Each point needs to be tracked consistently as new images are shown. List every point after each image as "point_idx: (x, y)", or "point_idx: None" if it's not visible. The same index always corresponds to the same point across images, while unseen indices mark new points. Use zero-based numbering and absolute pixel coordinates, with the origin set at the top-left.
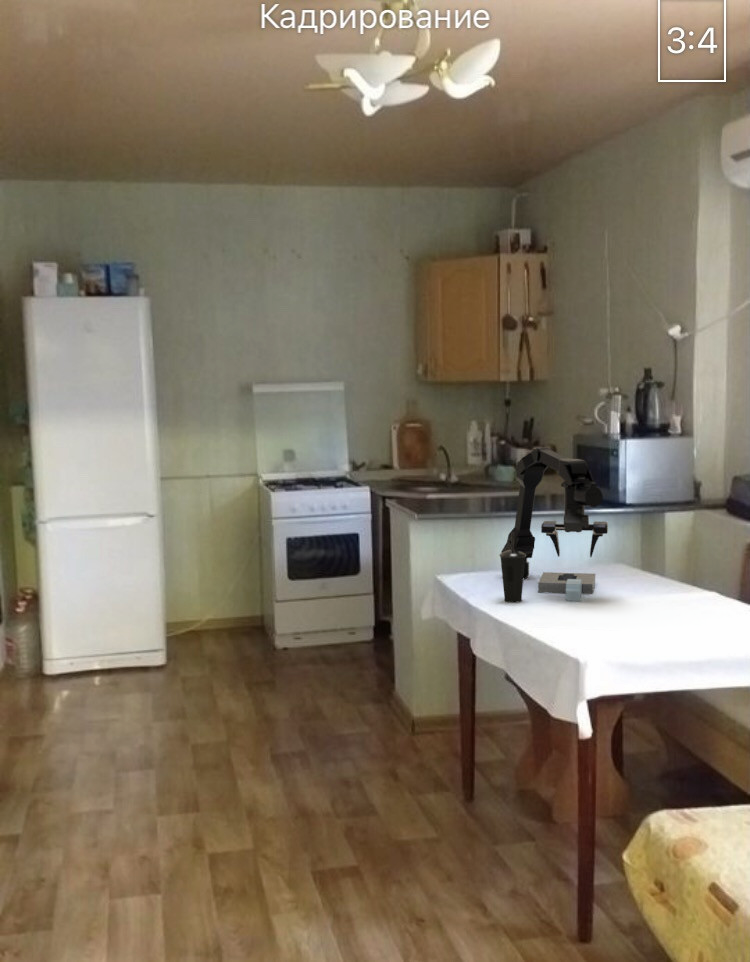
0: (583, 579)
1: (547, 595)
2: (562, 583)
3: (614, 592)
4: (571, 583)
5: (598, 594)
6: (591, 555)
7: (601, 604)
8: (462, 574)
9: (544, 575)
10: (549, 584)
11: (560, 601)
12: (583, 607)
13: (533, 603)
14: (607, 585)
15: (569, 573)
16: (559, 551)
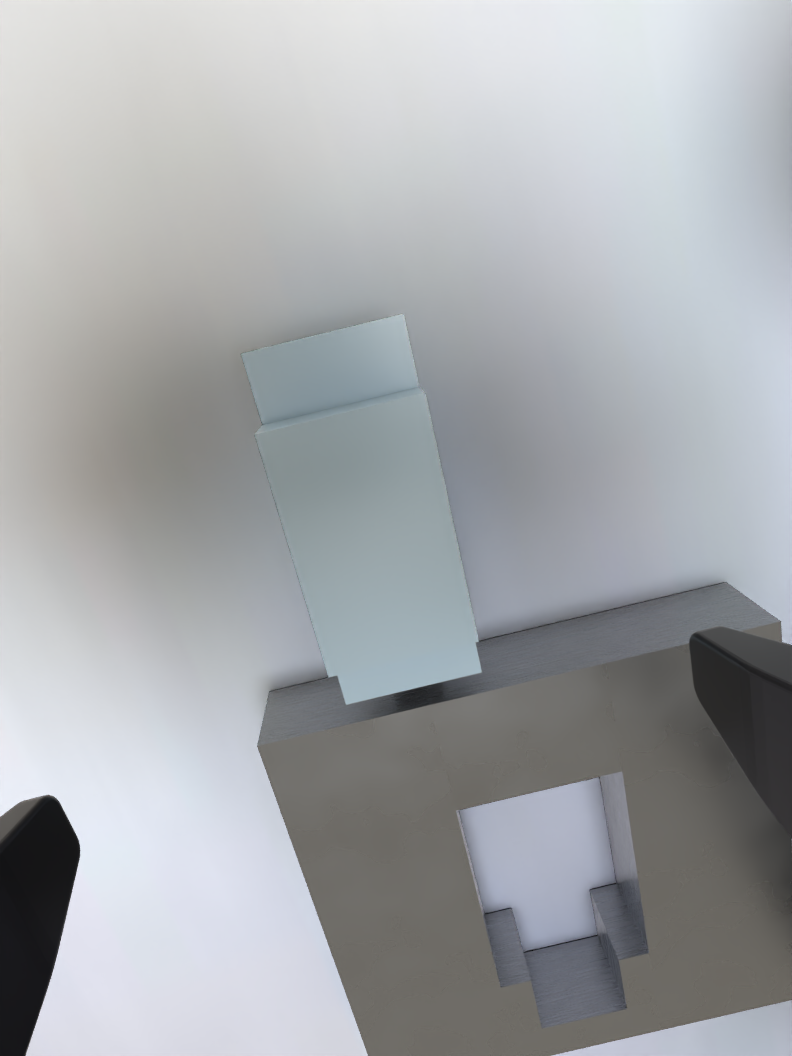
0: (404, 887)
1: (624, 504)
2: (543, 677)
3: (130, 813)
4: (366, 428)
5: (221, 703)
6: (4, 818)
7: (28, 328)
8: None
9: (771, 902)
10: (662, 640)
11: (445, 303)
12: (134, 107)
13: (681, 95)
14: (272, 987)
15: (582, 1032)
16: (750, 747)
